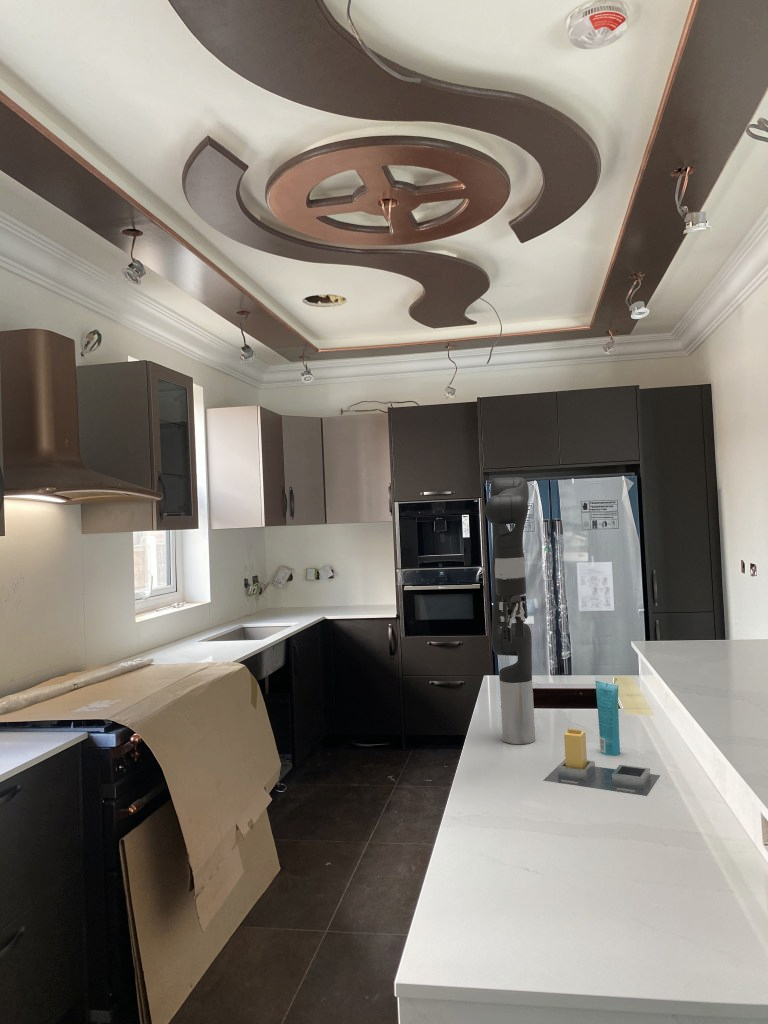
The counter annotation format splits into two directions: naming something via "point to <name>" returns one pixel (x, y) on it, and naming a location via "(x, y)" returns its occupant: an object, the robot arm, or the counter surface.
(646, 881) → the counter surface
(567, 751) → the plug
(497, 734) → the counter surface
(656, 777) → the panel
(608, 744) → the tube
